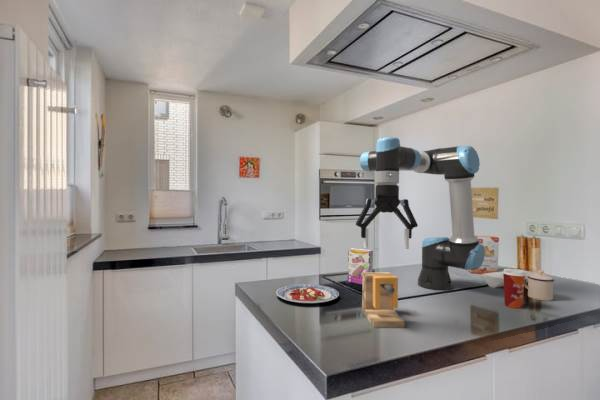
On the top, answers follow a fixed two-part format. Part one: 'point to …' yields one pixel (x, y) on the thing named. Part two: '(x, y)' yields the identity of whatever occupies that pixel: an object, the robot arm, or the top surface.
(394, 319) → the wooden l-shaped stand
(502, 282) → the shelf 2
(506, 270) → the paper cup
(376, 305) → the orange u-shaped bracket
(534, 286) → the teacup with lid
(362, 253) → the candy bar box
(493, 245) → the cracker box
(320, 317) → the top surface
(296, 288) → the ceramic plate
